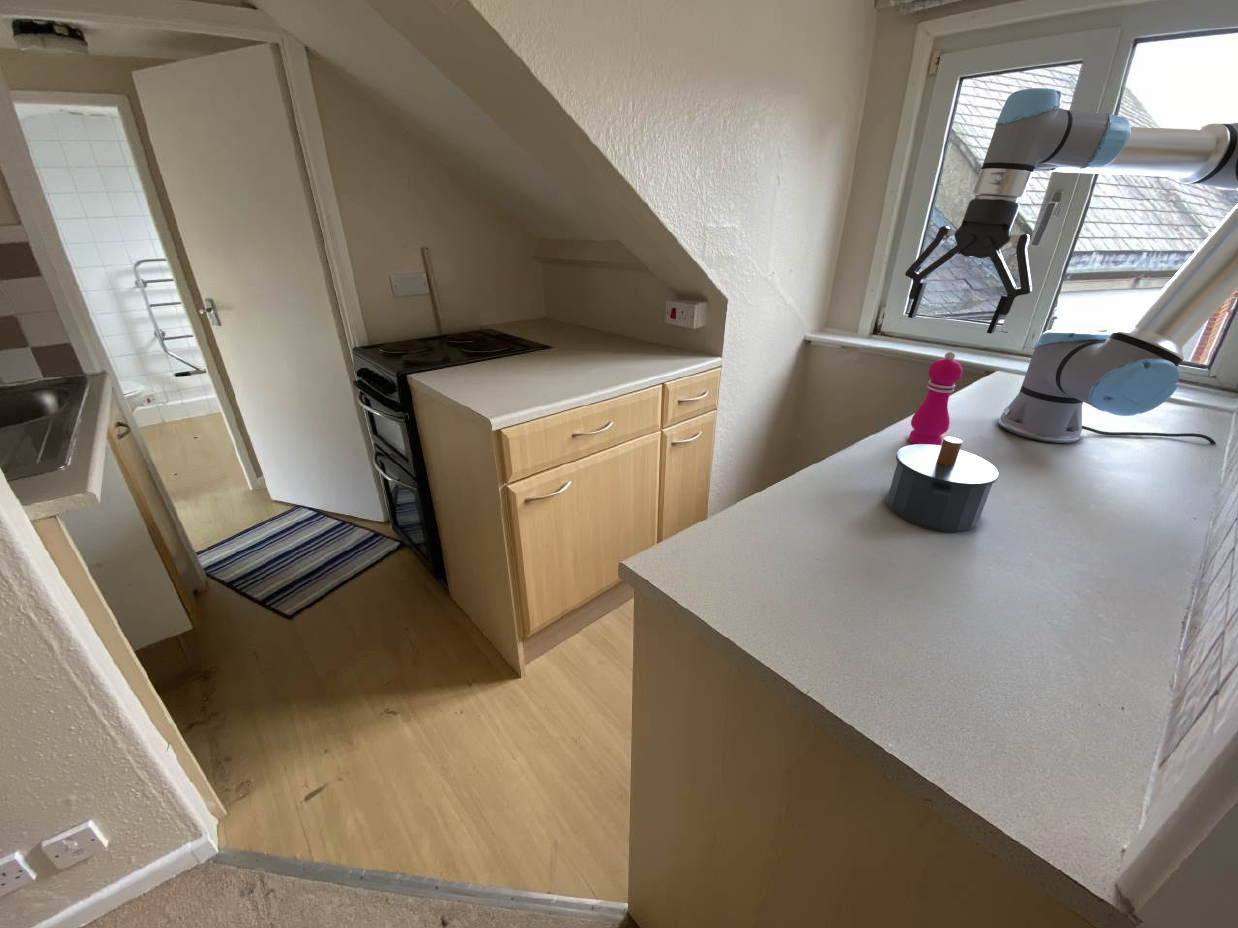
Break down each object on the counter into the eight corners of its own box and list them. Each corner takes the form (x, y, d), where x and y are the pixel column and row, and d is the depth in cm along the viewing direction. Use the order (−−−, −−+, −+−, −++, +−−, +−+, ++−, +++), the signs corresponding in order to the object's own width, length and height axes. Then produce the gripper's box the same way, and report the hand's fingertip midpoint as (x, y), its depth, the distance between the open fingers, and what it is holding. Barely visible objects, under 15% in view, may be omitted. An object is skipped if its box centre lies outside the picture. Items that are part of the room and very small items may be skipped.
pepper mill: (947, 450, 112) (977, 357, 103) (911, 447, 114) (937, 355, 105) (936, 437, 119) (963, 348, 110) (902, 434, 120) (926, 346, 111)
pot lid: (995, 462, 89) (1005, 434, 87) (998, 500, 78) (1010, 468, 75) (899, 443, 96) (907, 416, 93) (889, 475, 84) (897, 445, 82)
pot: (976, 497, 94) (992, 454, 91) (977, 550, 80) (995, 502, 76) (893, 478, 101) (904, 437, 97) (879, 524, 86) (892, 478, 82)
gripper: (912, 192, 95) (875, 312, 104) (1084, 204, 81) (1023, 342, 90) (923, 196, 100) (887, 310, 110) (1087, 207, 86) (1029, 337, 95)
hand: (949, 324), depth 100 cm, fingers open, 13 cm apart
